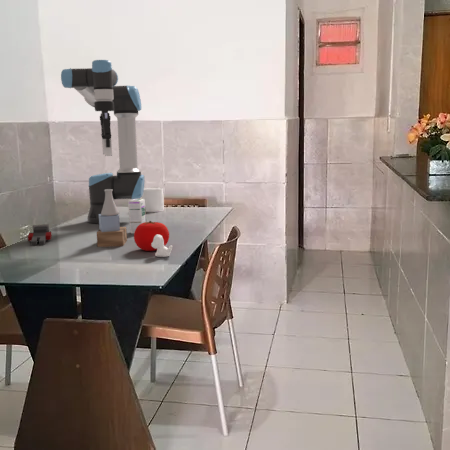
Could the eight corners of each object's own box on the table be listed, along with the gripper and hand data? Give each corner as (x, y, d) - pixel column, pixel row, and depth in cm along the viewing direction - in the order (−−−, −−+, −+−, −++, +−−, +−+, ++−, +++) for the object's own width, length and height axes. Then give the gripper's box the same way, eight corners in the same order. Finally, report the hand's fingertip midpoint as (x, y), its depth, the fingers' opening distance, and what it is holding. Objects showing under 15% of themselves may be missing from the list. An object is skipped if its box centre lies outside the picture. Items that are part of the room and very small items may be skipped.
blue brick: (99, 229, 223) (98, 214, 222) (117, 227, 226) (116, 212, 225) (101, 232, 217) (100, 216, 216) (119, 230, 219) (119, 215, 218)
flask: (101, 213, 223) (99, 189, 221) (119, 212, 224) (118, 188, 222) (99, 216, 216) (98, 191, 214) (118, 215, 217) (117, 190, 215)
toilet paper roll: (162, 212, 298) (161, 189, 296) (140, 212, 298) (139, 190, 296) (165, 208, 309) (164, 187, 307) (144, 209, 310) (143, 187, 307)
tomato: (131, 248, 213) (129, 220, 211) (164, 244, 218) (163, 217, 216) (139, 255, 202) (137, 225, 200) (173, 250, 207) (172, 221, 205)
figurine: (153, 254, 202) (152, 233, 201) (175, 254, 201) (174, 232, 200) (150, 258, 197) (149, 236, 196) (172, 258, 196) (171, 236, 195)
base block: (102, 241, 227) (101, 227, 226) (127, 241, 228) (126, 226, 226) (97, 247, 218) (96, 232, 216) (123, 246, 218) (122, 231, 217)
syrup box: (142, 233, 241) (140, 200, 238) (129, 233, 242) (127, 200, 239) (147, 231, 246) (145, 198, 243) (134, 231, 247) (132, 198, 245)
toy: (49, 250, 225) (53, 236, 238) (48, 236, 222) (51, 222, 236) (27, 252, 223) (32, 237, 237) (25, 237, 221) (30, 224, 234)
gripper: (92, 102, 230) (96, 153, 234) (95, 99, 206) (99, 157, 210) (111, 101, 232) (114, 153, 236) (116, 99, 208) (119, 156, 212)
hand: (107, 155), depth 223 cm, fingers open, 13 cm apart
